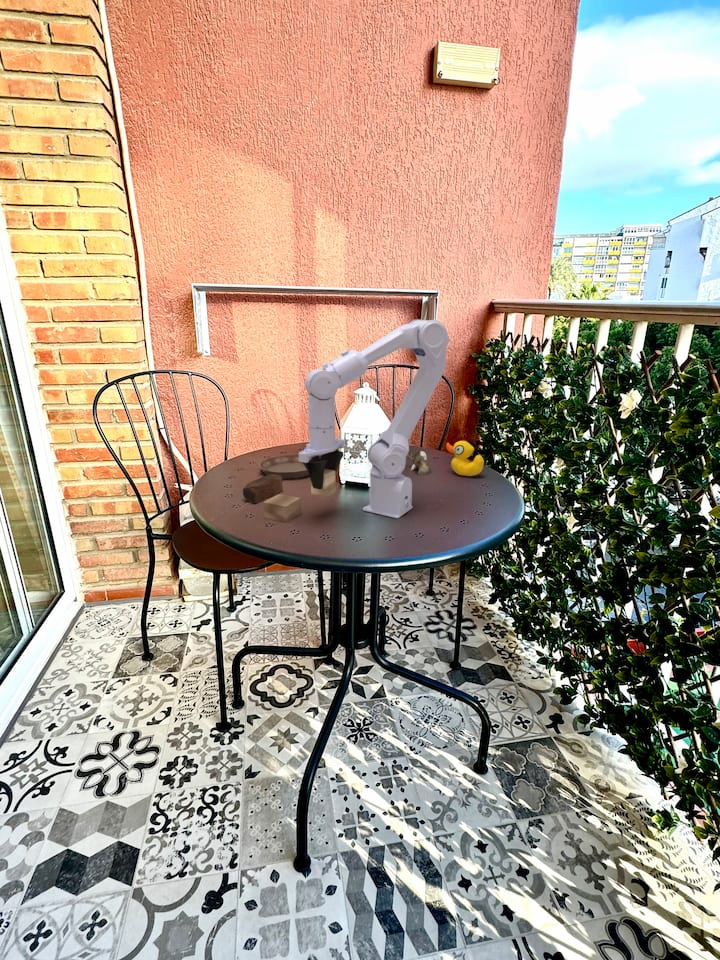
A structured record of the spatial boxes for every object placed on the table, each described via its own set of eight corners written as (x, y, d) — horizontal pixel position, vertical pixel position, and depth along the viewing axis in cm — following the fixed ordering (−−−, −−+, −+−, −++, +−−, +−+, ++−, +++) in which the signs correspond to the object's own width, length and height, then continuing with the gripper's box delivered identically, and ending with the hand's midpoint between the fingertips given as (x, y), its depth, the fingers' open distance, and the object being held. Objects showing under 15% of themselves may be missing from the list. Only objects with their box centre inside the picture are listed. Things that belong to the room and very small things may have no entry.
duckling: (441, 474, 143) (443, 440, 139) (448, 469, 147) (450, 437, 144) (478, 480, 137) (481, 446, 134) (485, 475, 141) (488, 442, 138)
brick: (271, 489, 130) (270, 472, 128) (283, 492, 128) (282, 475, 126) (243, 502, 121) (241, 484, 120) (255, 505, 119) (254, 487, 118)
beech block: (335, 491, 112) (335, 470, 110) (325, 496, 108) (324, 475, 107) (321, 488, 114) (320, 468, 112) (311, 493, 110) (310, 472, 109)
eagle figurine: (397, 464, 148) (407, 467, 140) (409, 443, 148) (419, 445, 140) (418, 476, 150) (428, 480, 142) (429, 456, 150) (441, 458, 142)
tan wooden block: (301, 514, 114) (300, 498, 113) (286, 523, 109) (285, 506, 108) (279, 509, 117) (279, 493, 115) (264, 518, 112) (263, 502, 110)
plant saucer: (248, 478, 139) (247, 468, 138) (276, 461, 155) (275, 452, 154) (306, 484, 134) (306, 473, 133) (328, 466, 150) (328, 456, 149)
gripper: (326, 418, 114) (327, 473, 118) (286, 430, 102) (289, 491, 107) (351, 421, 110) (352, 478, 115) (313, 434, 99) (315, 497, 103)
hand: (323, 485), depth 110 cm, fingers closed on beech block, 4 cm apart
